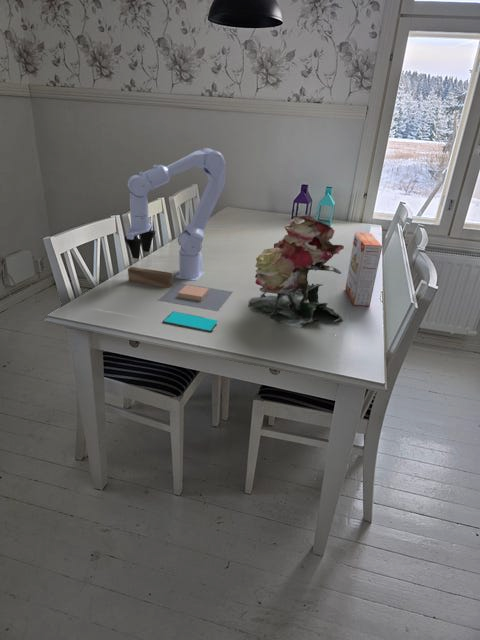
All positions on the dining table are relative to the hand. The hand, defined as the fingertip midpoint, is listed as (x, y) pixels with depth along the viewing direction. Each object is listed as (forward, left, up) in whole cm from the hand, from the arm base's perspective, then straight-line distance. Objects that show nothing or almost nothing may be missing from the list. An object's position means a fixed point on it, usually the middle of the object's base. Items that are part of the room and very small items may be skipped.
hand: (141, 254), depth 144 cm
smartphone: (+23, +27, -10) cm, 37 cm away
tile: (+6, +17, -8) cm, 20 cm away
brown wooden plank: (+2, +4, -10) cm, 11 cm away
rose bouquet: (+3, +53, -10) cm, 54 cm away
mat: (+6, +22, -10) cm, 25 cm away
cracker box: (-16, +73, -10) cm, 75 cm away
